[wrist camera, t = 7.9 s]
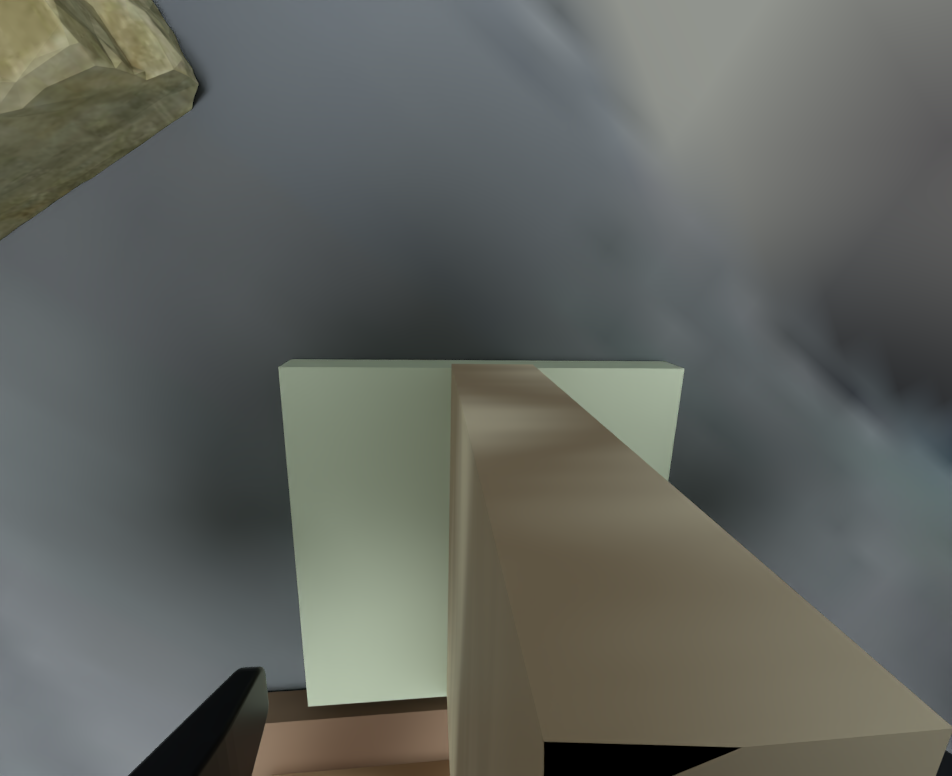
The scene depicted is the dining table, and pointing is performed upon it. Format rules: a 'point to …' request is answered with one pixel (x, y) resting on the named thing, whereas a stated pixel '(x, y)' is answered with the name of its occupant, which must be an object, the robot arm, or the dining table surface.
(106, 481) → the dining table surface
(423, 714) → the walnut stand
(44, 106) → the decorative tile
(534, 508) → the birch board
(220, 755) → the robot arm
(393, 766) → the oak offcut
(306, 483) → the sage pad
